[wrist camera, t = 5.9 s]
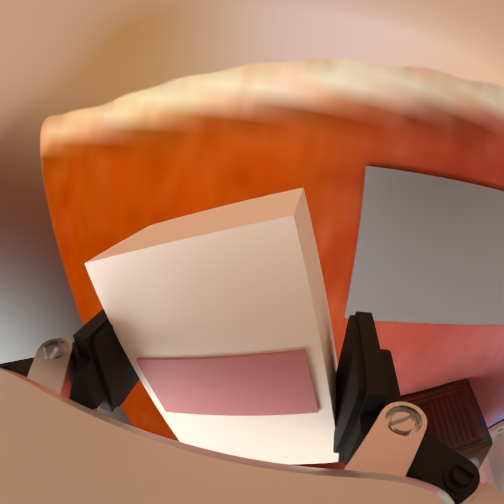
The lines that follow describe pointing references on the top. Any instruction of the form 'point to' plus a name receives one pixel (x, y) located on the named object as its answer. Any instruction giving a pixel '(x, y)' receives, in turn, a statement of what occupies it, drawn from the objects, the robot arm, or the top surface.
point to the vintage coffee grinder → (455, 419)
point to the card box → (230, 327)
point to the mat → (428, 250)
